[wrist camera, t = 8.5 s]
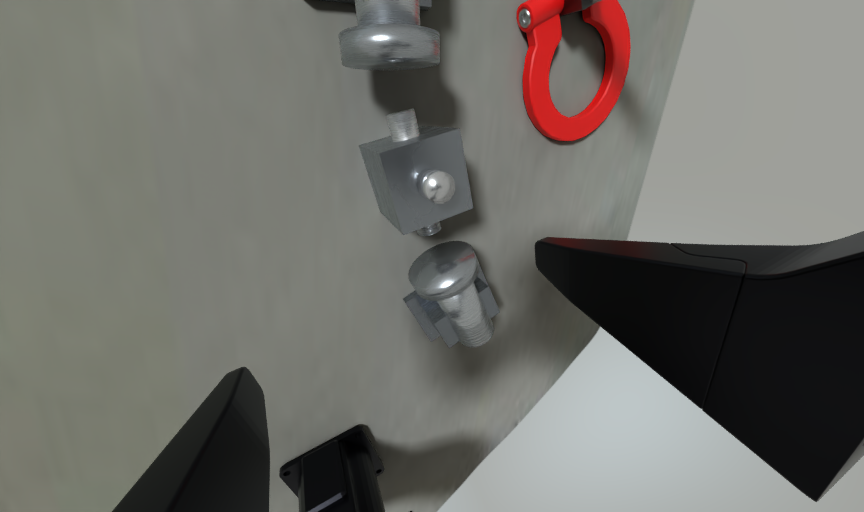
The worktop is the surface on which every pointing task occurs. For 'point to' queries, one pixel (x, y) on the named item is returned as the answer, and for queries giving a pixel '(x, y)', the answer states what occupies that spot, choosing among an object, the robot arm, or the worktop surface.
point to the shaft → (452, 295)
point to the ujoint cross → (418, 174)
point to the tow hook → (543, 38)
